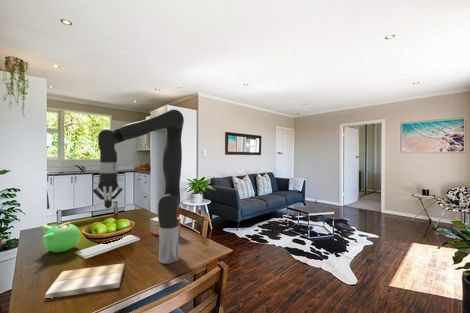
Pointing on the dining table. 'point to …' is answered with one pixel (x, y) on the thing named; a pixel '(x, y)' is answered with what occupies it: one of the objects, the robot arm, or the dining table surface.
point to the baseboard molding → (106, 247)
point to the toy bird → (60, 237)
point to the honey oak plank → (90, 272)
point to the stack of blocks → (155, 226)
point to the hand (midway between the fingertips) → (108, 207)
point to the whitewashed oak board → (84, 285)
